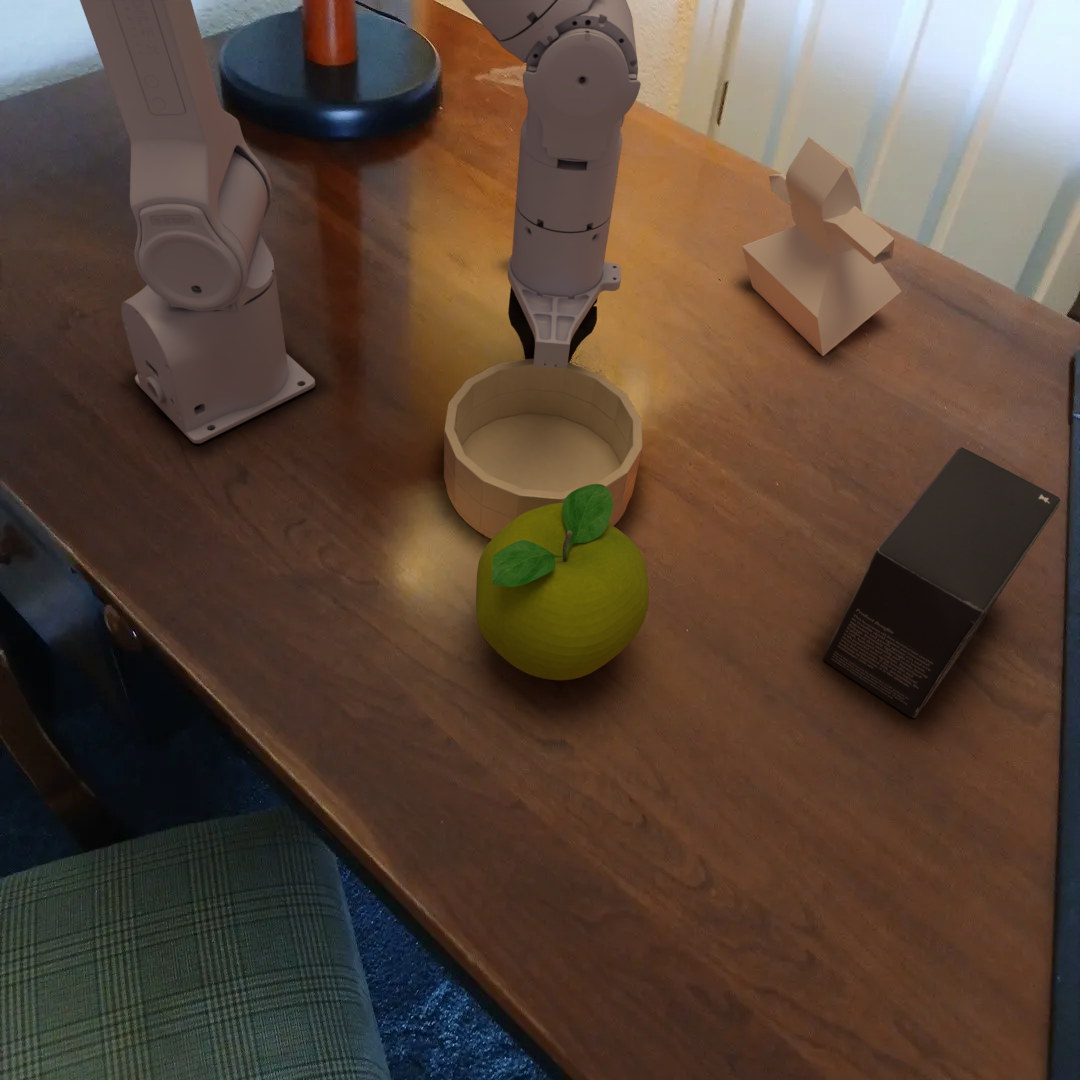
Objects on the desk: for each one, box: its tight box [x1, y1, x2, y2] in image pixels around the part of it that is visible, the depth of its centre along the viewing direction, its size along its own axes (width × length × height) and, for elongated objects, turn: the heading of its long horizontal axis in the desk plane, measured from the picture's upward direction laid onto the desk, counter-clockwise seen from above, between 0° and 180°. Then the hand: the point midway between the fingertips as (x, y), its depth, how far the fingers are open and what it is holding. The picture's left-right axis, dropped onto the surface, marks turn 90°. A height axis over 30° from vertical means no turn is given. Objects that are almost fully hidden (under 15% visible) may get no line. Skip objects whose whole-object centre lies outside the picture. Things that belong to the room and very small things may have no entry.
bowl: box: [443, 358, 643, 540], centre depth 67 cm, size 12×12×5 cm
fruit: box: [475, 484, 650, 681], centre depth 57 cm, size 9×9×10 cm
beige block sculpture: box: [741, 136, 902, 357], centre depth 78 cm, size 8×14×14 cm, turn 29°
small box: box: [822, 446, 1062, 719], centre depth 59 cm, size 11×6×10 cm, turn 141°
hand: (544, 379), depth 72 cm, fingers closed
